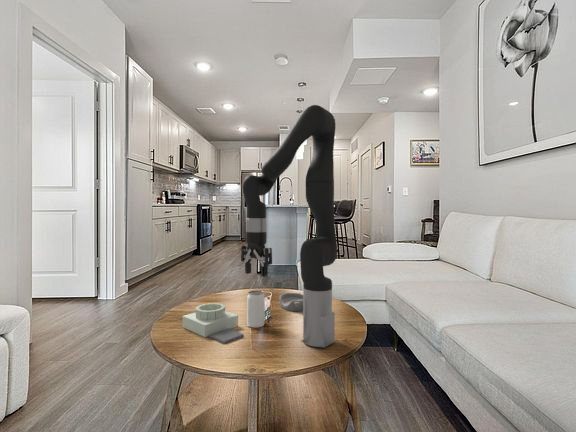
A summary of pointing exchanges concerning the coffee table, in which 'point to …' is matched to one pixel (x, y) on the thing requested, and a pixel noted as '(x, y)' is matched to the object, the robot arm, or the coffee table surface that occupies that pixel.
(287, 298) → the dish
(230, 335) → the slate coaster
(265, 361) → the coffee table surface
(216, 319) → the pedestal block
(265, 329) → the coffee table surface
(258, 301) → the can
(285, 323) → the coffee table surface
